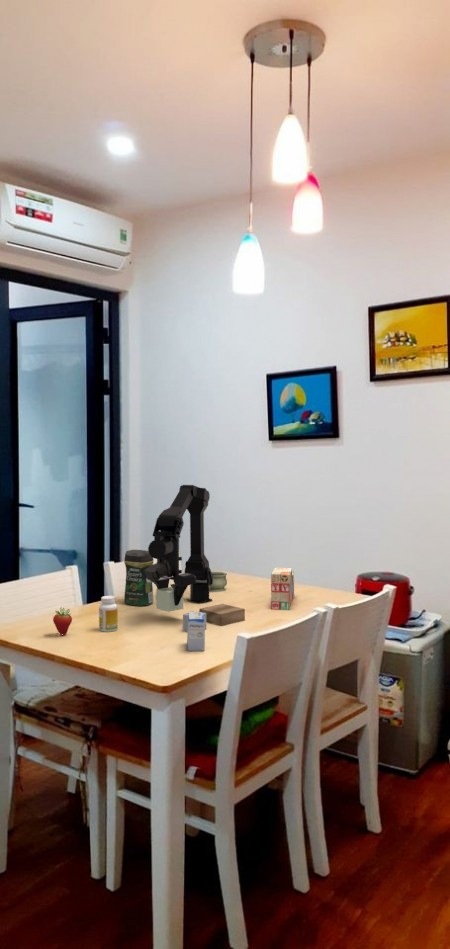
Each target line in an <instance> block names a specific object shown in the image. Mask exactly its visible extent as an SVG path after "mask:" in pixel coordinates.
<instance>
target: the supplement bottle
mask: <svg viewBox="0 0 450 949" xmlns="http://www.w3.org/2000/svg"><path fill="white" fill-rule="evenodd" d="M100 598H101V600H100V601H101V603H100V605H98V630H99V631H101V632H103V631H104V633H105V632H106V633H108V632H110V631H111V632H115V631H117V630H118V626H119V625H118V624H119V623H118V621H119V620H118V614H119V613H118V611H119V610H118V605H117V604H116V596H114V595H104V596H102V597H100Z"/></svg>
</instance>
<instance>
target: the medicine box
mask: <svg viewBox="0 0 450 949" xmlns="http://www.w3.org/2000/svg"><path fill="white" fill-rule="evenodd" d="M187 613H188V632H186V633H187V635H186V636H187V639H186V641H187V642H186V643H187V651H189V652H203V651H205V650H206V648H205V647H206V634H205V632H206V630H205V619H204V614H203V612H199V611H195V612H191V611H189V612H187Z"/></svg>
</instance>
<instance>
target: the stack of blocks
mask: <svg viewBox="0 0 450 949" xmlns="http://www.w3.org/2000/svg"><path fill="white" fill-rule="evenodd" d="M294 575H295V572H294V571H293V567H281V566H279V567H274V569H273V571H272V572H271V574H270V576H271V577H270V578H271V579H270V583H271V584H270V586H271V587H270V594H271V596H270V610H271V611H272V610H273V611H290V609H292V603H293V601H294V598H295V576H294ZM292 600H293V601H292Z"/></svg>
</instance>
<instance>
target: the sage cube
mask: <svg viewBox="0 0 450 949" xmlns="http://www.w3.org/2000/svg"><path fill="white" fill-rule="evenodd" d="M155 591H156V592H155V597H156V599H155V601H156V602H155V603H156V604H155V607H156V608H155V609H157V610H160V611H165V612H168V613H170V612H175V611H179V610H184V595H183V596H182V598H181V600H180V602H179V604H178V605H177V606H176V605H175V603H174V590H173V588H172V587H171V586H168V587H167V588H162V589H156V590H155Z"/></svg>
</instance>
